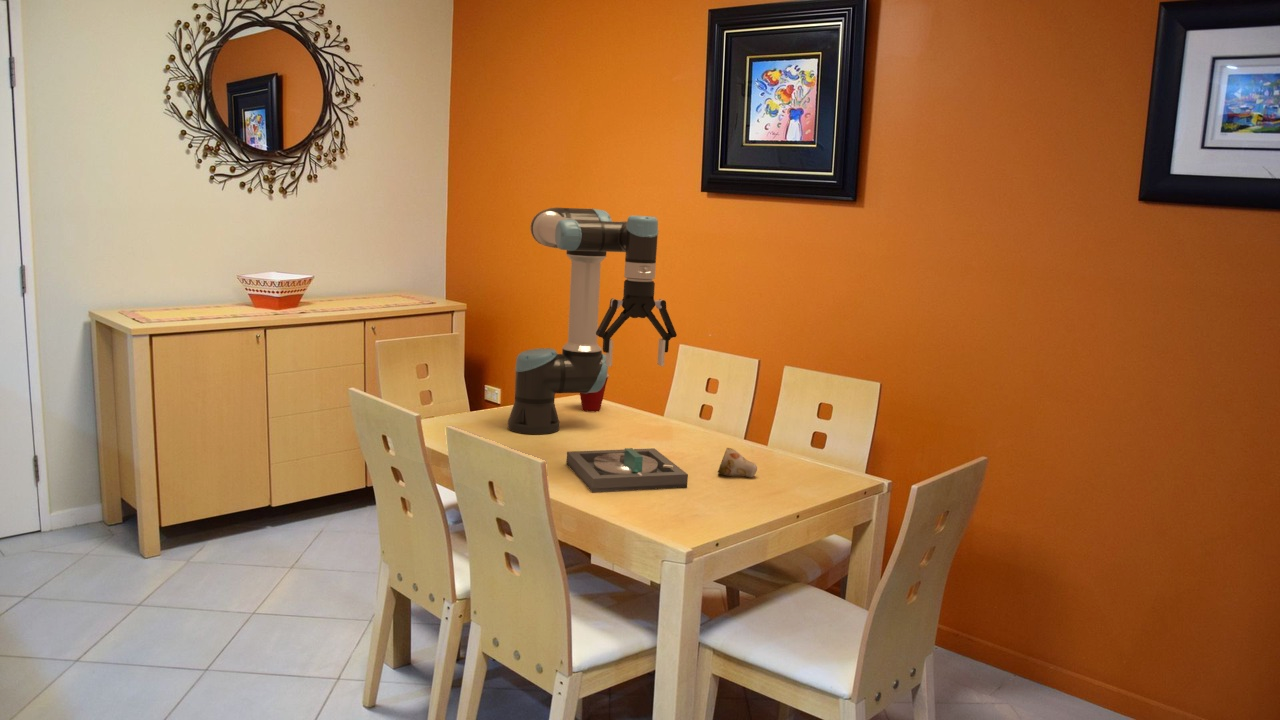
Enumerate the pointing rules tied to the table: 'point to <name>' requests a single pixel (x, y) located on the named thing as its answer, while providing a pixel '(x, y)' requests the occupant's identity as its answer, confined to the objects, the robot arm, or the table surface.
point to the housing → (663, 479)
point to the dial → (624, 463)
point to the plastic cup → (593, 399)
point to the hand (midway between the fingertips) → (634, 365)
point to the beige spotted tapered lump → (736, 465)
